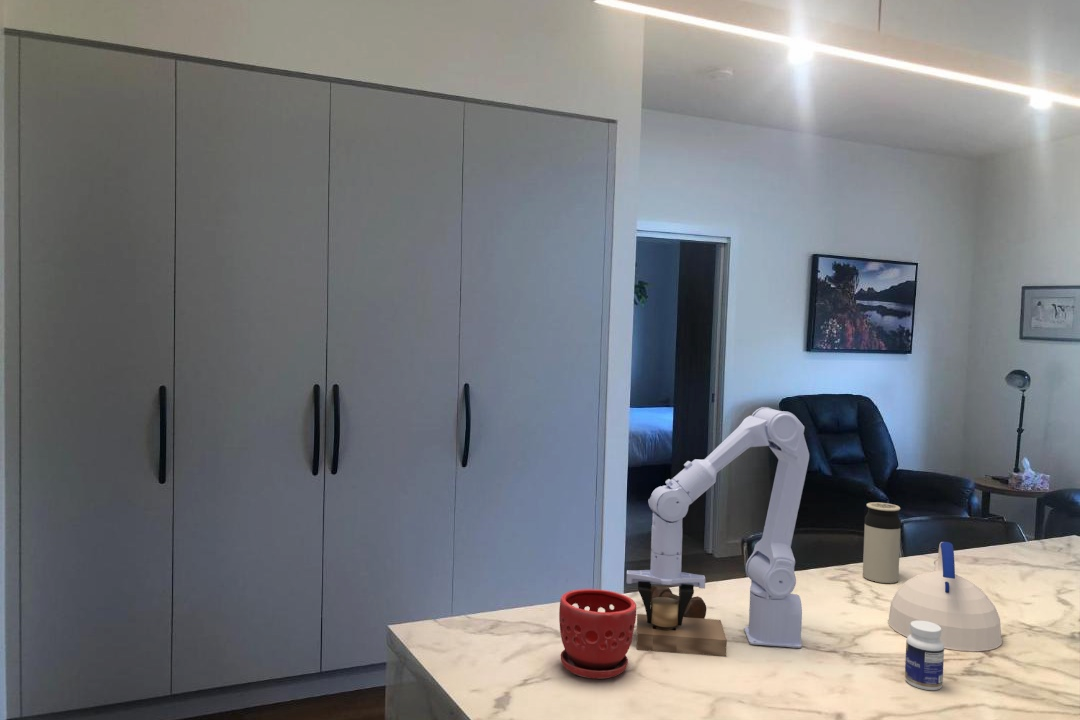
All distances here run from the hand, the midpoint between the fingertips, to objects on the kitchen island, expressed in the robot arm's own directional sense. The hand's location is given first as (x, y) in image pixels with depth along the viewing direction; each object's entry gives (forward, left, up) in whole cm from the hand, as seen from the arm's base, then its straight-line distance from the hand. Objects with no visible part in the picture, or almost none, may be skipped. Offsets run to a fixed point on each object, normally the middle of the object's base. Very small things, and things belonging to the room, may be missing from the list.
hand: (664, 622), depth 144 cm
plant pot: (+12, +14, -4) cm, 19 cm away
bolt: (-2, -16, -4) cm, 17 cm away
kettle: (-56, -16, -4) cm, 58 cm away
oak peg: (0, 0, -3) cm, 3 cm away
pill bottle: (-43, +10, -4) cm, 44 cm away
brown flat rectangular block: (-3, 0, -3) cm, 5 cm away
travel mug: (-54, -49, -4) cm, 73 cm away
